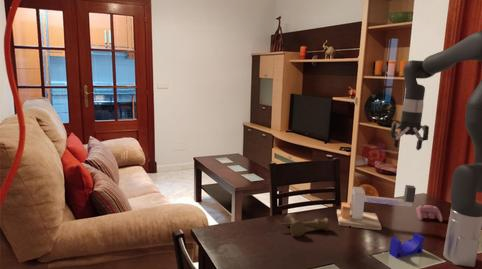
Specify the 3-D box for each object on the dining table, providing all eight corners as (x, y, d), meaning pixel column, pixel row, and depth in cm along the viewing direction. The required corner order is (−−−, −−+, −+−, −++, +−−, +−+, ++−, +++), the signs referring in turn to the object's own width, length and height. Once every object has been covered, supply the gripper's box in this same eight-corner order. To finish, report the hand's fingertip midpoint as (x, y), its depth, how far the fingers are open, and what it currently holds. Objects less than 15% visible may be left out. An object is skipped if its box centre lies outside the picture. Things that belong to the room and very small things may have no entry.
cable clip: (411, 246, 126) (413, 231, 125) (421, 252, 122) (424, 237, 121) (385, 251, 122) (387, 236, 121) (395, 258, 118) (398, 242, 117)
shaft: (412, 207, 139) (415, 188, 137) (365, 202, 142) (368, 183, 140) (410, 204, 142) (413, 185, 140) (364, 199, 145) (366, 181, 143)
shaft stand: (381, 230, 138) (385, 198, 135) (339, 225, 140) (342, 193, 138) (374, 216, 150) (378, 186, 147) (336, 212, 153) (339, 183, 150)
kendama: (332, 237, 131) (280, 237, 128) (322, 226, 141) (274, 226, 138) (334, 222, 130) (282, 222, 127) (324, 212, 140) (276, 211, 137)
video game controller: (438, 222, 151) (437, 206, 153) (443, 222, 147) (442, 205, 148) (415, 220, 152) (414, 204, 153) (419, 220, 147) (418, 203, 149)
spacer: (349, 218, 143) (350, 207, 142) (341, 218, 144) (342, 206, 143) (347, 213, 148) (349, 202, 147) (340, 213, 148) (341, 202, 147)
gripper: (396, 110, 140) (391, 149, 143) (434, 112, 138) (428, 152, 141) (391, 108, 148) (387, 145, 151) (427, 110, 145) (422, 148, 148)
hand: (406, 148), depth 146 cm, fingers open, 8 cm apart
